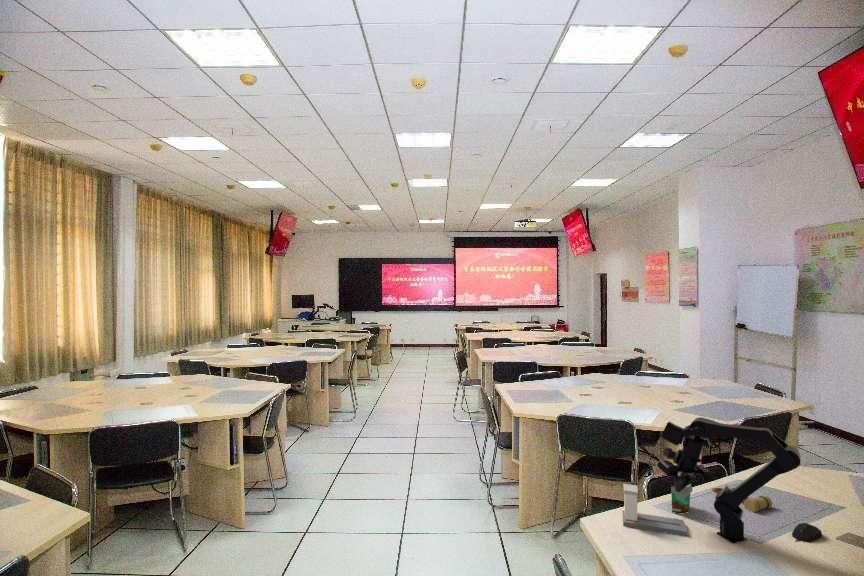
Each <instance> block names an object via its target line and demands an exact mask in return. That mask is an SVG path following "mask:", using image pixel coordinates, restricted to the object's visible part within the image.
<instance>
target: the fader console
mask: <svg viewBox="0 0 864 576" xmlns="http://www.w3.org/2000/svg"><path fill="white" fill-rule="evenodd" d="M622 522H623V523H622V526H623V527H629V528H634V529H640V530H647V531H651V530H652V531H653V532H658V533H659V532H660V533H664V532H667V533H666V534H670V533H672V534H671V535H676V534H678V536H683V537H688V530H687V526H686V525H685V524H686V523H685V521H684V519H679V518H675V517H673V518H672V517H668V516H667V517H666V516H665V517H664V516H660V515H654V514H646V513H642V512H641V513H640V512H637V521H633V520H627V519H625V513H624V510H622Z"/></svg>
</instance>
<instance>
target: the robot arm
mask: <svg viewBox="0 0 864 576" xmlns="http://www.w3.org/2000/svg"><path fill="white" fill-rule="evenodd" d="M715 437H722V438H723V437H724V438H732V439H740V440H747V441H755V442H761V443H762V444H763V445H765V447H766V448H767V449H768V450H769V451H770V452H771V453H772V454H773V456H772V457H771V459H770V460H769V461H768V462H767V463H766V464H764V465H763V466H762V467H761V468H760V469H758V470H757V471H755V472H754V473H752V474H751V475H750V476H749V477H747V478H746V479H745V480H743V481H741V483H739V484H738V485H737V486H735V487H732V488H729V486H728V485H725V486H724V487H723V488H722V489H723V490H721V491H718V493H716V495H715V498H714V499H715V500H714V502H713V508H714V510H715V511H716V513H718V514H719V516H720V518H719V531H717V532H716V534H717V535H718V536H719V537H721V538H722V539H723V538H724V539H725V540H727V541H729V542H730V543H733V544H736V543H741V542H746V541H748V538H747V537H745V523H744V521H742V517H743V514H744V510H743V509H742V508H741V507H740V506H741V504H743V502H742V501H743V500H744V499H745V498H747V497H748V498H749V496H751V495H753V494H754V493H755V492H756V491H758V490H759V489H761V488H762V487H763V486H765V485H766V484H768V483H769V482H770V481H772V480H773V479H774V478H776V477H777V476H779V475H782V474H786V473H789V472H791V471H793V470H796V469H798V467H800V465H801V461H802V460H801V453H800V451H799V449H797V448H796V447H794V446H792V445H789V444H787V443H786V442H785V440H783V439H781V438H780V437H779V436H777V435H776V434H775V433H774V432H773V431H772V430H771V429H769V428H768V427H755V426H746V425H737V424H728V423H722V422H718V421H715V420H712V419H709V418H705V417H696V418H695V419H694V420H692V422H691V423H690V424H689V425H686V426H685V427H681V426H680V425H676V424H675V423H674V422H671V421H668V422H667V423H666V425H665V427H664V429H663V430H662V431H661V435H660V440H662V441H666V442H667V443H670V444H672V445H674V446H679V445H681V446H682V445H683V447H682V448H681V449H678V450H673V448H670V447H664V449H663V453H662V454H663V456H664V457H666V458H665V459H667V460H665V459H664V460H663V459H660V460H658V462H657V466H656V467H657V468H658V469H660V470H661V471H662V472H663V473H664V474H665V475H667V476H669V477H674V484H675V490H676V491H677V492H680V491H681V490H683V489H684V488H685V487H686V486H688V485H689V484H692V483H695V482H697V481H698V479H697V478H696V476H695V475H701V476H702V479H703V480H704V481H712V478H713V474H712V471H710V470H709V469H708V468H706V467H705V466H704V465H702V464H698V463H702V460H703V459H702V458H701V455H702V452H703V449H704V447H706V448H710V447H711V446H712V443H711V442H710V438H715ZM684 440H685V441H684ZM670 460H672V462H671V461H670ZM675 464H676V465H675Z"/></svg>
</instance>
